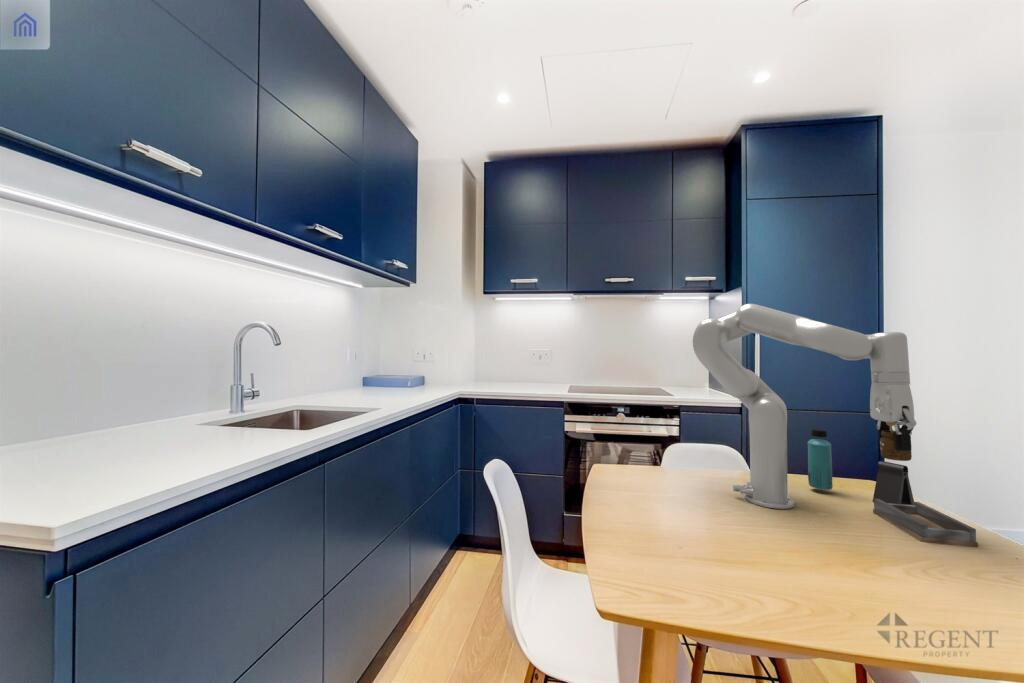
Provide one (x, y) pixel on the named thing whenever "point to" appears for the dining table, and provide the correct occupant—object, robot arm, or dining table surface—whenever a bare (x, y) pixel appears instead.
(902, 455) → the utensil holder
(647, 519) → the dining table surface
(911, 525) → the gray framed rectangular tray
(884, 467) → the phone stand
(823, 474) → the beverage bottle
